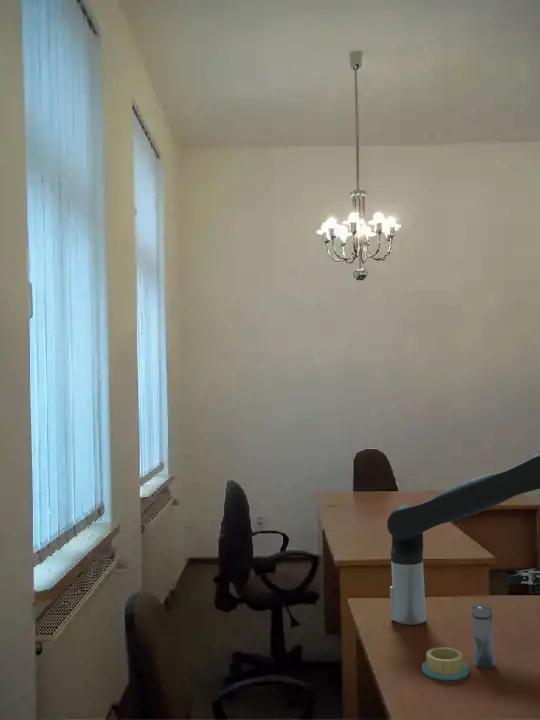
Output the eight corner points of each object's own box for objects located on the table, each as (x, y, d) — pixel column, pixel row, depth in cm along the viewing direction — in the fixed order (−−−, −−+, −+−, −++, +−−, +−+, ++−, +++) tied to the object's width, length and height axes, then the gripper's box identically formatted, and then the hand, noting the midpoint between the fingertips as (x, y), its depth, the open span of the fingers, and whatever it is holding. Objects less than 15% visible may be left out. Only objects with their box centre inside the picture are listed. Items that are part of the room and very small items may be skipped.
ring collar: (414, 674, 168) (414, 657, 168) (432, 658, 177) (431, 642, 177) (459, 684, 162) (458, 666, 162) (475, 667, 171) (474, 650, 171)
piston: (472, 666, 171) (469, 608, 172) (478, 659, 175) (475, 602, 176) (491, 670, 169) (488, 611, 169) (497, 663, 173) (494, 605, 173)
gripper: (551, 555, 188) (500, 563, 183) (591, 567, 175) (537, 576, 169) (553, 583, 188) (502, 592, 183) (593, 598, 174) (539, 608, 169)
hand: (519, 584), depth 176 cm, fingers open, 8 cm apart
